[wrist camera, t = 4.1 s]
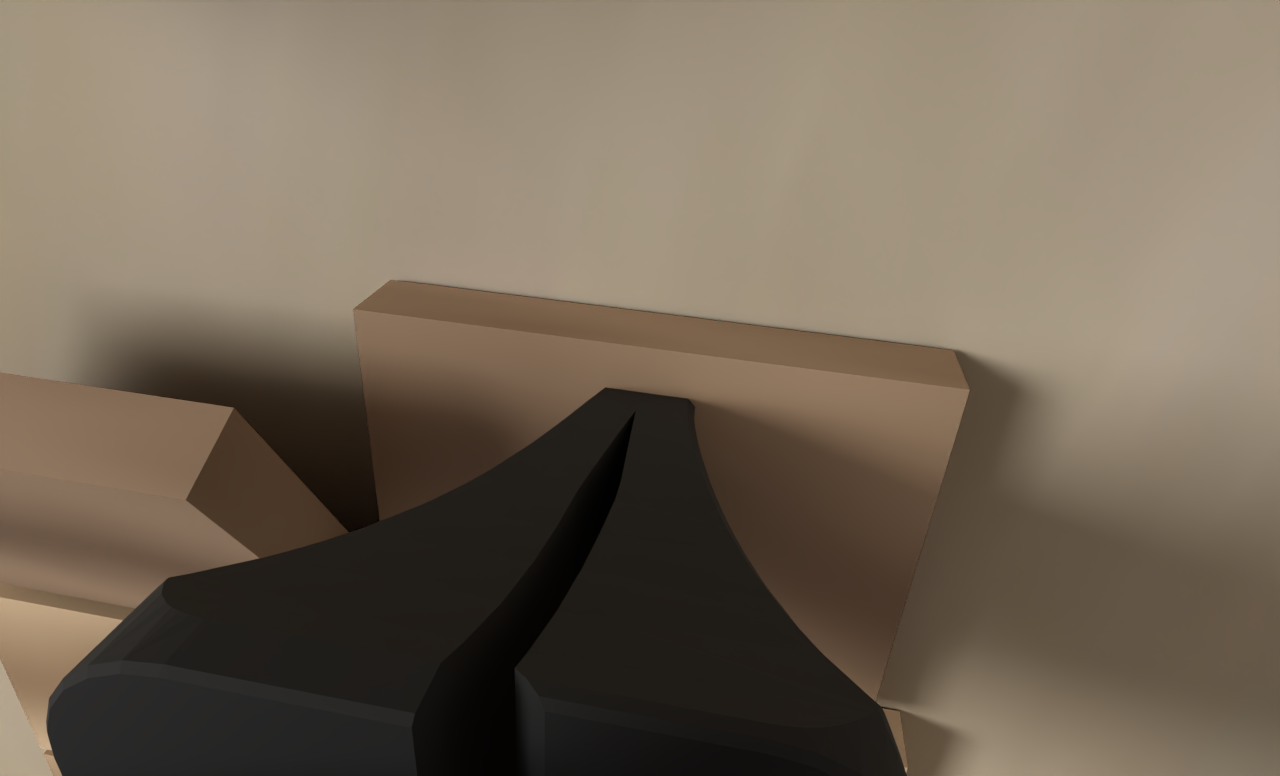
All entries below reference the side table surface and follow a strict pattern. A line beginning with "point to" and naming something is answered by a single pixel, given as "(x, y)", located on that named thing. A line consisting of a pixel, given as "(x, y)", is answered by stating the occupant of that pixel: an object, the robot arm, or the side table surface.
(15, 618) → the laid oak row
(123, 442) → the plank
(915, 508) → the plank
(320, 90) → the side table surface
